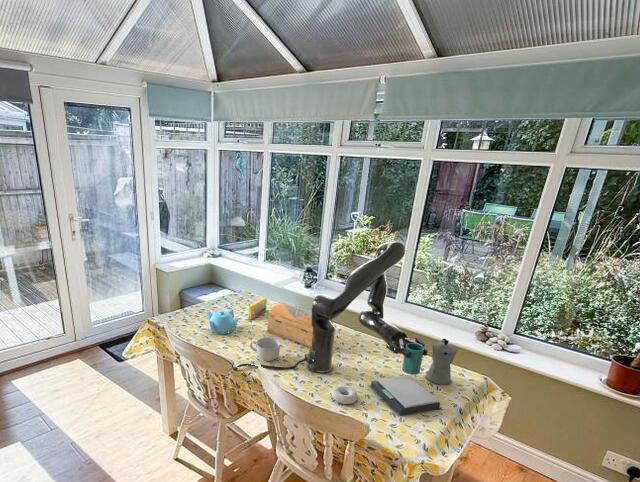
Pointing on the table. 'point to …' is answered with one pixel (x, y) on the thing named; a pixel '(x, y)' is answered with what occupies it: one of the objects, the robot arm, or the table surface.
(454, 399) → the table surface
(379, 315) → the robot arm
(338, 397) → the donut
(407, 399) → the scale
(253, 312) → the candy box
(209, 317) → the teapot
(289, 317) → the wooden box
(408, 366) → the canister
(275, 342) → the teacup
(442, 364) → the coffeepot
